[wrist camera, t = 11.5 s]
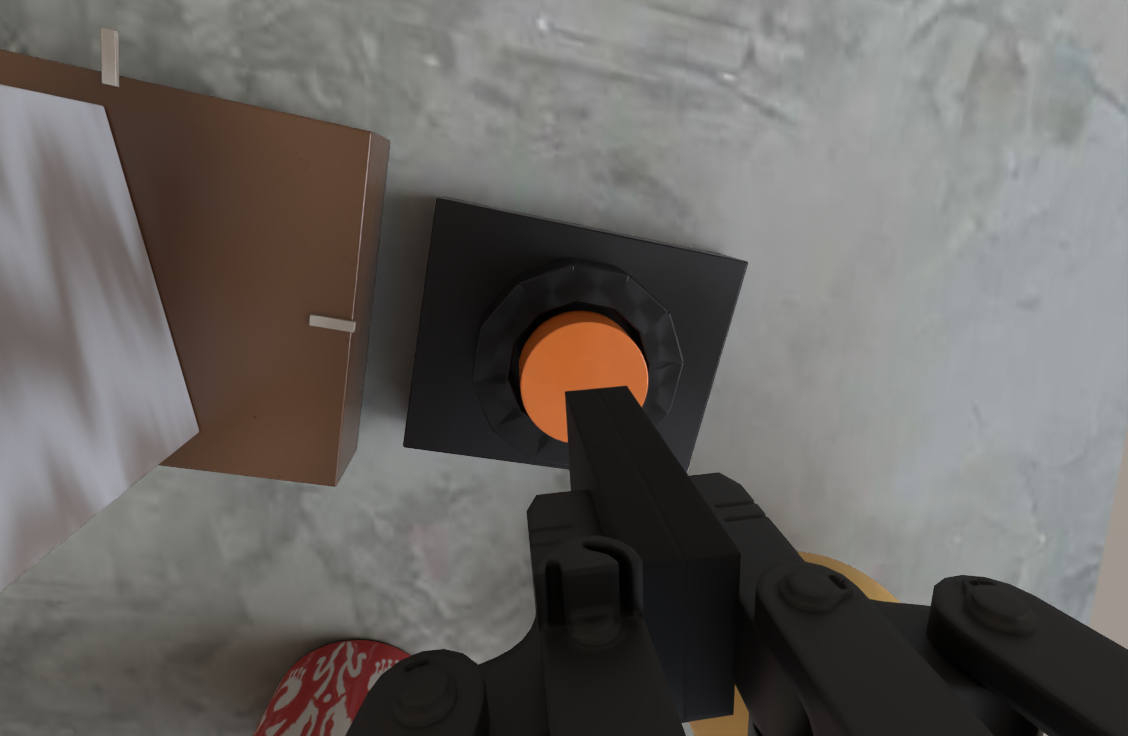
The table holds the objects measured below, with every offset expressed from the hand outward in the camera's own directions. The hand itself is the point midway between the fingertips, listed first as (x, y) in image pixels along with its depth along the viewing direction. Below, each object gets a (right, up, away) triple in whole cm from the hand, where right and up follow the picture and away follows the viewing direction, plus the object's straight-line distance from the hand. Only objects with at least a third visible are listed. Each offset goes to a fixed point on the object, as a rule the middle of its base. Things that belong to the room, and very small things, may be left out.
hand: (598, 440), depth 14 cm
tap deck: (-15, +5, +6) cm, 17 cm away
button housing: (-1, +3, +9) cm, 9 cm away
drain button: (0, +2, +5) cm, 6 cm away
